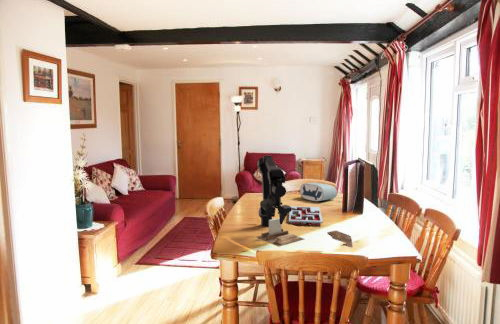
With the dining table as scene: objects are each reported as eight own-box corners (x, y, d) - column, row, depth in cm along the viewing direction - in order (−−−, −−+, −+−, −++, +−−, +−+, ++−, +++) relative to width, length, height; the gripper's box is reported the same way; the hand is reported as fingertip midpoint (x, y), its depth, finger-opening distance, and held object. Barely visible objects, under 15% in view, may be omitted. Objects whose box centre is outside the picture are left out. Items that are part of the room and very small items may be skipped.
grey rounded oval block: (299, 198, 280) (300, 182, 279) (314, 196, 293) (315, 180, 292) (322, 203, 264) (323, 186, 263) (337, 200, 277) (338, 184, 276)
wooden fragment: (325, 231, 199) (325, 229, 199) (345, 231, 199) (345, 229, 199) (338, 248, 174) (338, 246, 174) (360, 248, 174) (360, 245, 174)
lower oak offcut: (275, 241, 179) (275, 239, 178) (292, 237, 186) (292, 235, 186) (281, 244, 175) (281, 242, 174) (299, 239, 182) (299, 237, 182)
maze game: (322, 226, 208) (322, 221, 208) (288, 225, 211) (288, 220, 210) (319, 211, 243) (319, 207, 242) (289, 210, 245) (290, 206, 245)
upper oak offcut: (276, 239, 178) (276, 237, 178) (291, 235, 184) (291, 233, 184) (281, 241, 175) (282, 239, 175) (296, 237, 181) (296, 235, 181)
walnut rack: (255, 238, 186) (255, 233, 186) (281, 232, 197) (281, 226, 197) (278, 248, 172) (278, 242, 172) (305, 241, 183) (305, 235, 182)
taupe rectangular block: (268, 236, 186) (268, 220, 185) (278, 234, 191) (278, 217, 189) (271, 237, 185) (271, 220, 184) (281, 235, 189) (281, 218, 188)
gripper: (252, 191, 188) (252, 220, 190) (275, 198, 173) (275, 229, 175) (268, 189, 194) (268, 217, 196) (292, 195, 179) (291, 225, 181)
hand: (275, 222), depth 187 cm, fingers open, 9 cm apart
